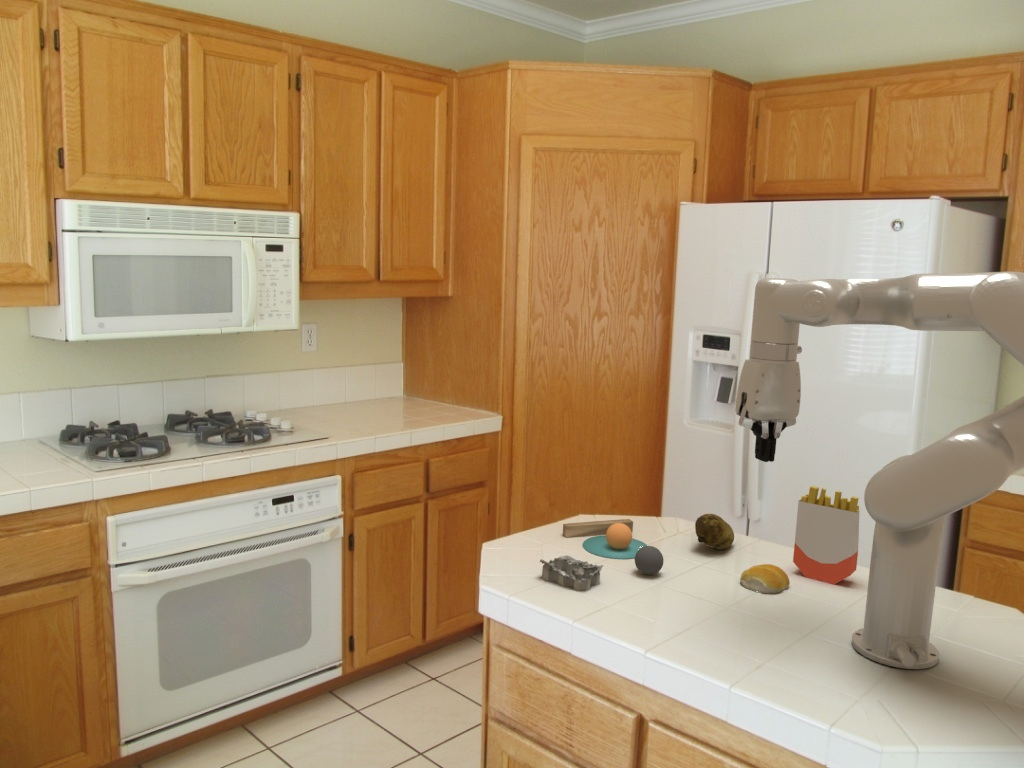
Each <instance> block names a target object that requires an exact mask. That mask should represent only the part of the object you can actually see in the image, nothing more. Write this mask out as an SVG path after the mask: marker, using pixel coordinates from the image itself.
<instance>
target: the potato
mask: <svg viewBox="0 0 1024 768" xmlns="http://www.w3.org/2000/svg"><path fill="white" fill-rule="evenodd" d="M694 528H695V534H696V537H697V541H698V542H699V543H700V544H705V545H706V546H707V547H710V548H714V549H717V550H726V549H728V548H729V547H731V546H732V544H733V543H734V541H735V532H734V530H733V528H732V526H731V525H730V524H729V523H728V522H727V521H725V519H724V518H722V517H721V516H719V515H717V514H715V513H704V514H702V515H700V516H699V517H697V519H696V521H695V522H694Z"/></svg>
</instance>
